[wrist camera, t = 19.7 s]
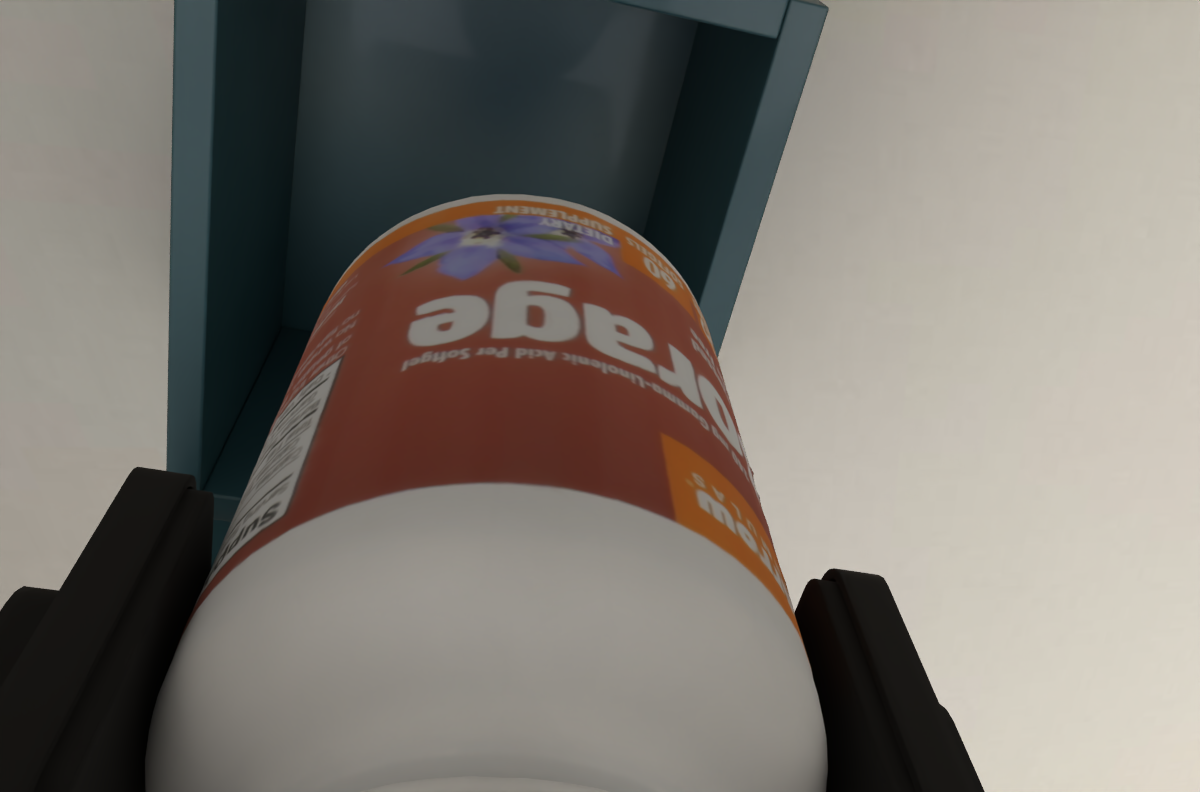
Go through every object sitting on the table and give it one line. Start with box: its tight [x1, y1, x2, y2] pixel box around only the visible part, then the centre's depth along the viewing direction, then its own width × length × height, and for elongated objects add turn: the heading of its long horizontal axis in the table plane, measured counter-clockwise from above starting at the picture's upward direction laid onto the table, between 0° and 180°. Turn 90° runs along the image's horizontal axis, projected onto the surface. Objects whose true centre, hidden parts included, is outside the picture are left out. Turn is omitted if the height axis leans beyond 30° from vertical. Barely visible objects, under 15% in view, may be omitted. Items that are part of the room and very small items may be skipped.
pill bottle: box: [145, 194, 828, 792], centre depth 11 cm, size 6×6×11 cm
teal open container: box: [166, 0, 828, 522], centre depth 26 cm, size 15×12×10 cm
